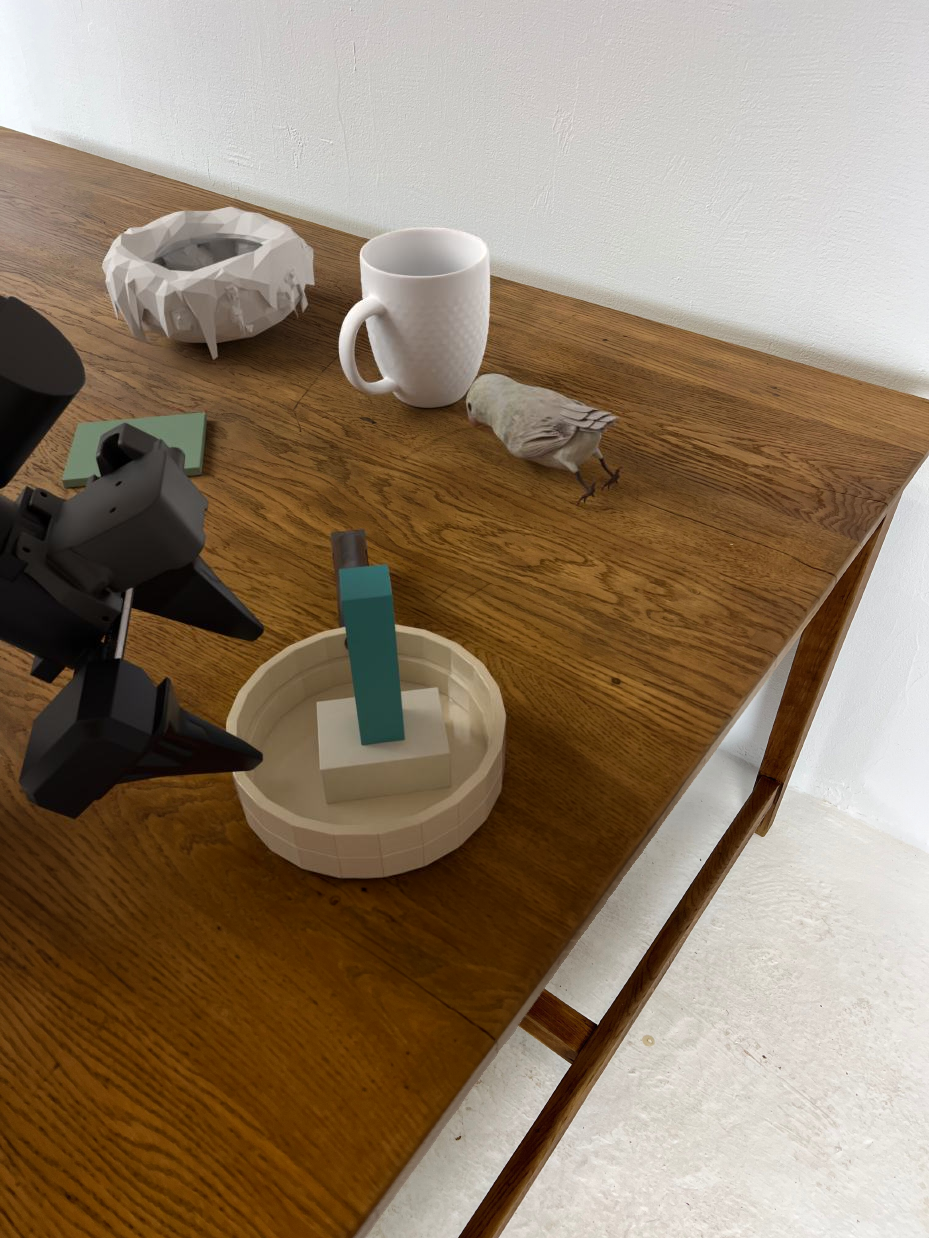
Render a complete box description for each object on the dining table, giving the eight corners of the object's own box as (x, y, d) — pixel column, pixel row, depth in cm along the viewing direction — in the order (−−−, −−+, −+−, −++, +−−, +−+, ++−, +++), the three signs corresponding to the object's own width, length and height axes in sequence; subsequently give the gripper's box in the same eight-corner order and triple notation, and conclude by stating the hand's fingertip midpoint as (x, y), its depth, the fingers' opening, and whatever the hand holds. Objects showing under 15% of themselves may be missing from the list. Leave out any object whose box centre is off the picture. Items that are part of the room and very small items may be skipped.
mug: (391, 452, 79) (379, 303, 71) (313, 405, 85) (294, 263, 77) (514, 391, 87) (517, 249, 78) (435, 352, 93) (429, 216, 84)
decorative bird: (494, 415, 84) (495, 336, 79) (630, 491, 75) (641, 407, 70) (448, 436, 81) (446, 356, 76) (584, 518, 72) (591, 432, 67)
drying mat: (64, 488, 76) (61, 480, 76) (80, 431, 83) (77, 423, 82) (201, 475, 77) (199, 467, 77) (207, 419, 84) (205, 411, 83)
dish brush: (326, 804, 52) (292, 624, 43) (322, 735, 55) (290, 557, 46) (451, 787, 53) (444, 607, 43) (439, 721, 56) (430, 542, 47)
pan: (236, 905, 48) (219, 855, 45) (243, 690, 59) (230, 638, 56) (528, 864, 49) (530, 813, 46) (480, 661, 61) (480, 610, 58)
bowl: (87, 324, 99) (58, 227, 92) (260, 275, 108) (245, 183, 101) (170, 401, 86) (144, 296, 80) (357, 338, 95) (348, 238, 89)
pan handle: (345, 691, 59) (337, 636, 56) (335, 571, 68) (328, 519, 65) (383, 686, 59) (377, 632, 56) (368, 568, 68) (363, 515, 65)
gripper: (9, 566, 30) (375, 746, 39) (90, 318, 44) (347, 492, 52) (-141, 753, 35) (217, 878, 43) (-25, 475, 48) (229, 612, 57)
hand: (259, 694), depth 49 cm, fingers open, 9 cm apart
